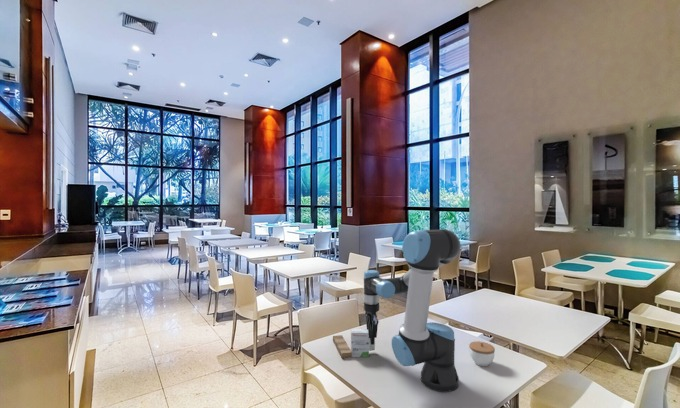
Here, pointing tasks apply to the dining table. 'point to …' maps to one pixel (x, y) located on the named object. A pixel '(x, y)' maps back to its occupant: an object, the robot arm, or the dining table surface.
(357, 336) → the ink box
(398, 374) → the dining table surface
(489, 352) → the lidded jar
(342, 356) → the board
